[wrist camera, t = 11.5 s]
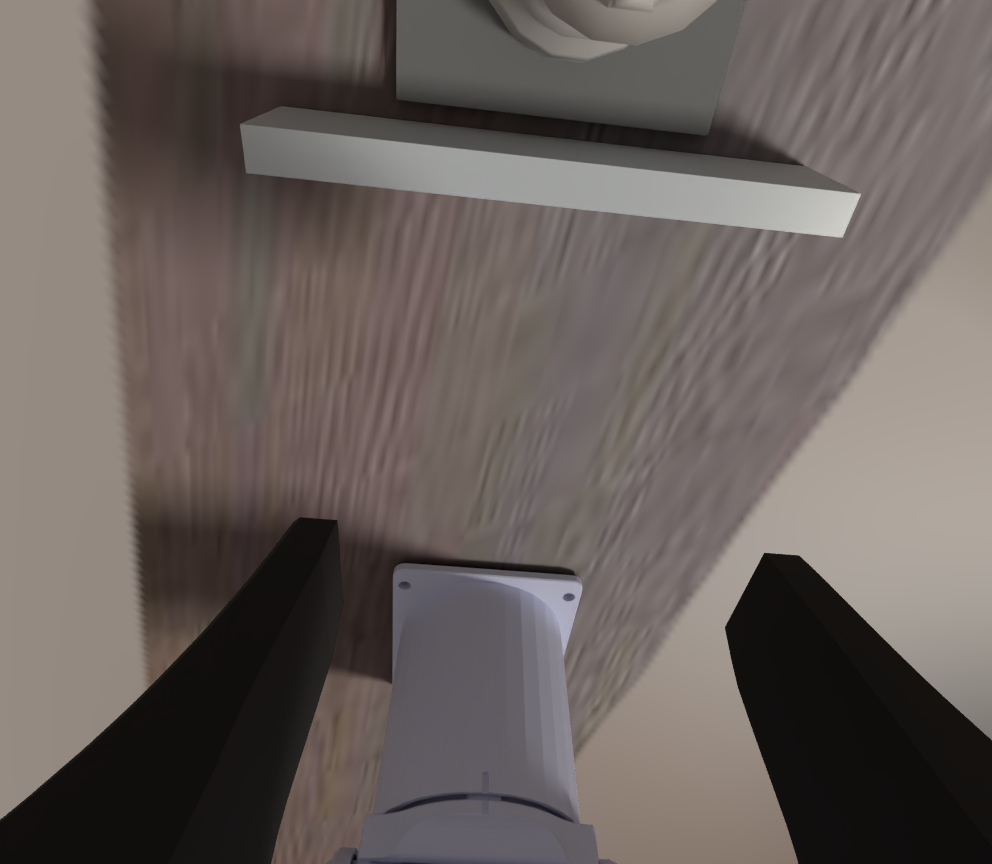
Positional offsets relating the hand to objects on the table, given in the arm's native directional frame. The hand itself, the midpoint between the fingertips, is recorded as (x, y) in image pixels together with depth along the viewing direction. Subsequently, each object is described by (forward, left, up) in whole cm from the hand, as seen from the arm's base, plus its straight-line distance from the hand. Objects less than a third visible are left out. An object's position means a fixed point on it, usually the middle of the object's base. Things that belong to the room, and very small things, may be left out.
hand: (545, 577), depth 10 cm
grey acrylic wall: (+5, 0, -10) cm, 11 cm away
